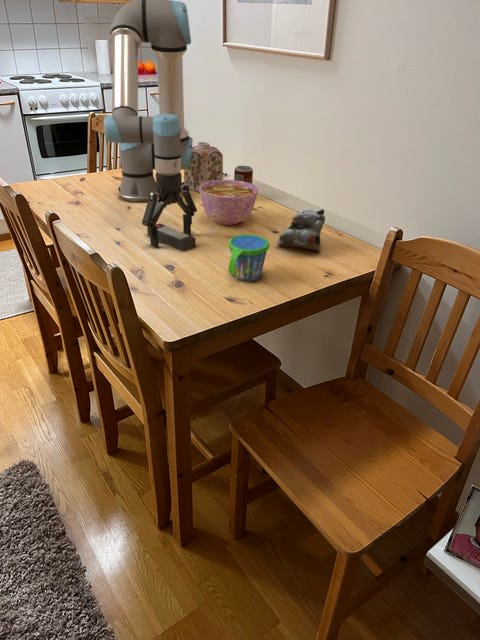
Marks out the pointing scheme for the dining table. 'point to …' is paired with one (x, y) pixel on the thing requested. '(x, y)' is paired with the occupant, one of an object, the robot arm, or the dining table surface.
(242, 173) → the soda can
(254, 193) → the bowl of food
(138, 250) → the dining table surface
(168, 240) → the tv remote
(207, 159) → the decorative jar
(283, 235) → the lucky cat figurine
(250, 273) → the snack cup
